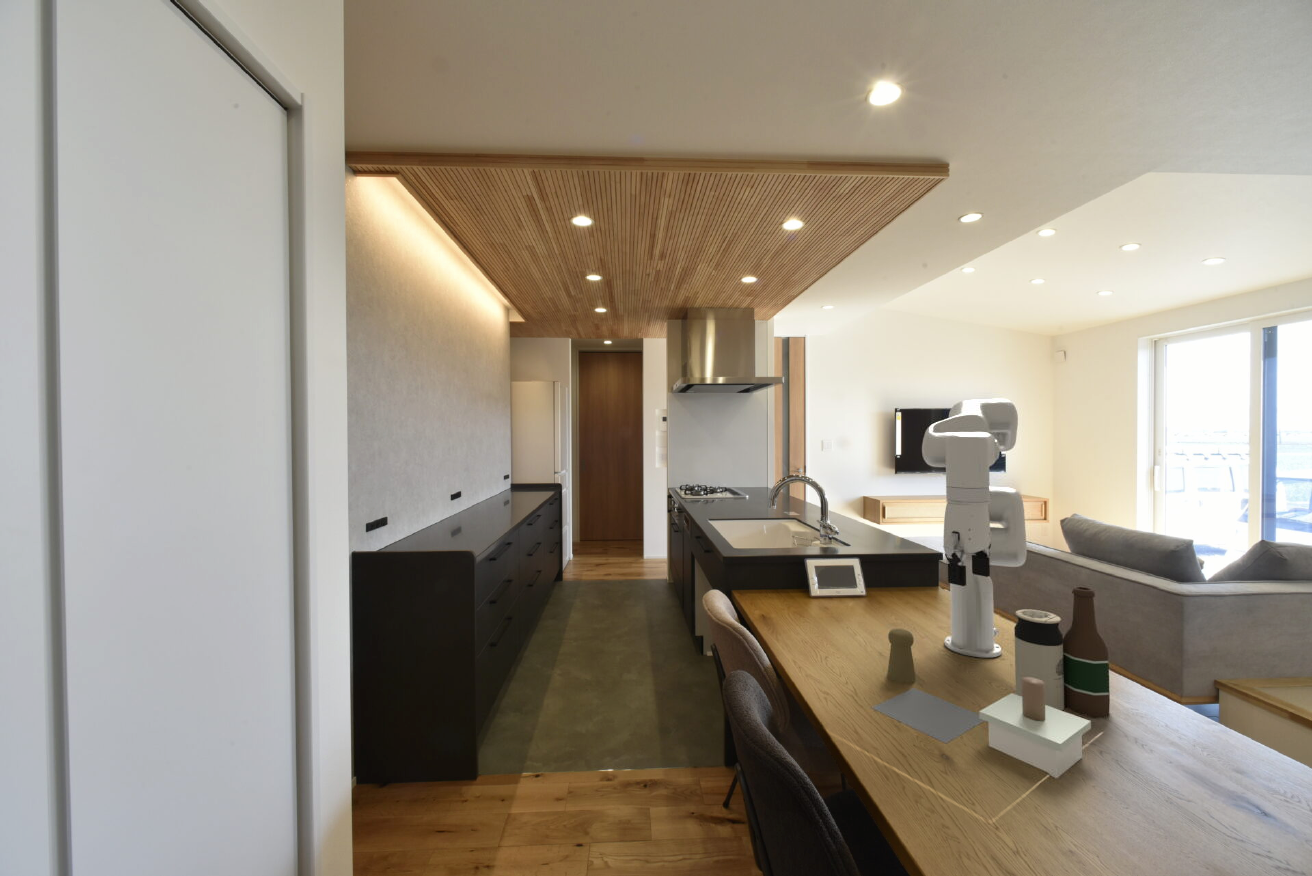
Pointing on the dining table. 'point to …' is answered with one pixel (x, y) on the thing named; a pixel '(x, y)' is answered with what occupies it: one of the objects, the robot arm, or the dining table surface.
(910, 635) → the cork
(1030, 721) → the lid
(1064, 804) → the dining table surface
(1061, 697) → the travel mug
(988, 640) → the robot arm
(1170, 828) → the dining table surface
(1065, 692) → the beer bottle
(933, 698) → the mat
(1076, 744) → the white open storage bin
